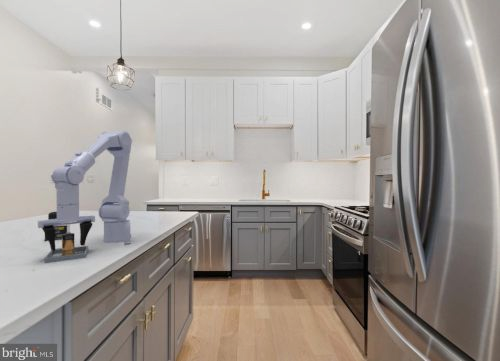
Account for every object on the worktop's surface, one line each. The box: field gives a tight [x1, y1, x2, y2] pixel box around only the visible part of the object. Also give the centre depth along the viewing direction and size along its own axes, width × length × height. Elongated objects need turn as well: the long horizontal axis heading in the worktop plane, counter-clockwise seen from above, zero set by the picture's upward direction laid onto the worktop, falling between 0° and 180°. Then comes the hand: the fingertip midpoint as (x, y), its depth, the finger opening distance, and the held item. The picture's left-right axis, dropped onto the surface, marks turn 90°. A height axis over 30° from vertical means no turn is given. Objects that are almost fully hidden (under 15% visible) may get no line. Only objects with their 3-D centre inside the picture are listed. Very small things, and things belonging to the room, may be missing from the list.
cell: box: [61, 231, 76, 256], centre depth 79 cm, size 3×3×8 cm
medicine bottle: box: [44, 211, 71, 242], centre depth 101 cm, size 7×7×12 cm
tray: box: [44, 245, 89, 264], centre depth 79 cm, size 10×10×2 cm
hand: (68, 247), depth 79 cm, fingers open, 7 cm apart
